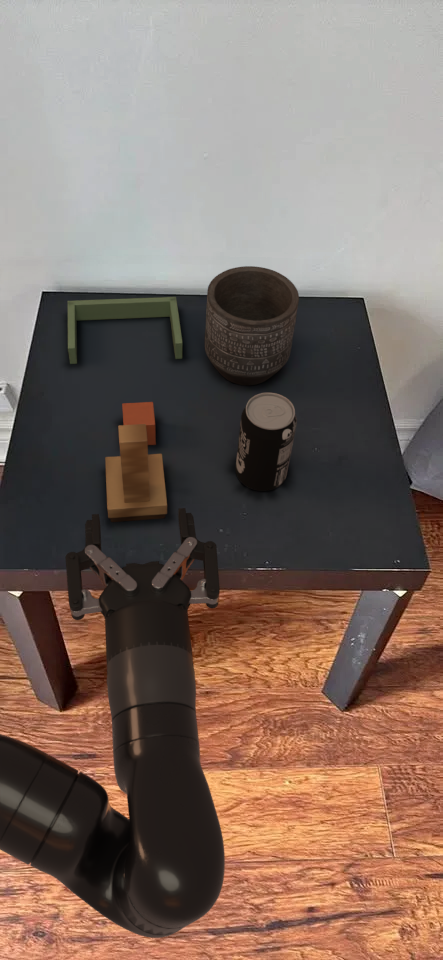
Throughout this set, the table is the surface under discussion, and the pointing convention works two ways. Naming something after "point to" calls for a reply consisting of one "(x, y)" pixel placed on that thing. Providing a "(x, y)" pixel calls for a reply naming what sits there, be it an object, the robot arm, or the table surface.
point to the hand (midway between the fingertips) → (138, 515)
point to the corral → (122, 316)
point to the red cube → (141, 417)
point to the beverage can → (265, 441)
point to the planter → (250, 323)
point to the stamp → (135, 479)
